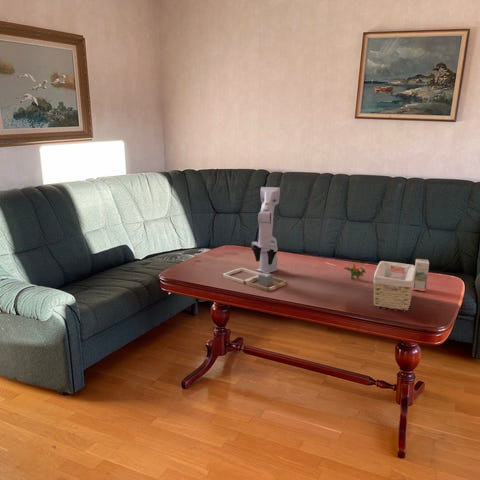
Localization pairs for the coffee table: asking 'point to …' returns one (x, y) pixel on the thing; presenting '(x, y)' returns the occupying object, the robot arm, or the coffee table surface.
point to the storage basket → (393, 285)
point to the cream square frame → (226, 275)
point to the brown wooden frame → (248, 282)
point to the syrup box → (421, 274)
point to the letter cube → (265, 279)
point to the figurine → (355, 271)
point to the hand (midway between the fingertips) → (264, 262)
